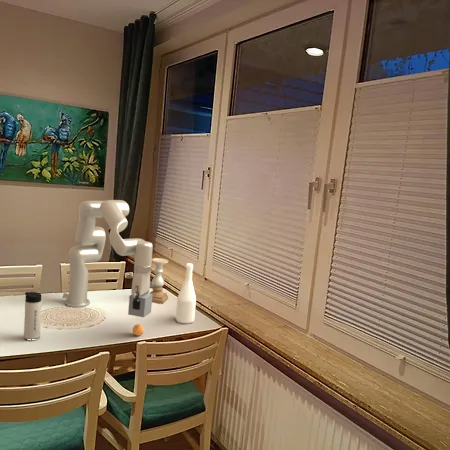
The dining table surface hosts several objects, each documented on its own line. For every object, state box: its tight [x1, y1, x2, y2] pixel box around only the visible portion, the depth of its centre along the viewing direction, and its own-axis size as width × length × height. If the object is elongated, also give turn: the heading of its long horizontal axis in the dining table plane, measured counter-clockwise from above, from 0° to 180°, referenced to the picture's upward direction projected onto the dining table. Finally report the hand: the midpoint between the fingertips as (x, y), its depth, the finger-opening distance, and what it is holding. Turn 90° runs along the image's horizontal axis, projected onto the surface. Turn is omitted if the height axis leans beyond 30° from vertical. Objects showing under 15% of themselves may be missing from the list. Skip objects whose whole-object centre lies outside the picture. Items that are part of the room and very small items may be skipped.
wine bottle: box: [175, 262, 197, 325], centre depth 221 cm, size 10×10×30 cm
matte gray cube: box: [127, 292, 153, 318], centre depth 197 cm, size 8×8×9 cm
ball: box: [131, 323, 144, 337], centre depth 199 cm, size 5×5×5 cm
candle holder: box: [148, 257, 169, 305], centre depth 251 cm, size 11×11×24 cm
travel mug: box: [23, 291, 42, 340], centre depth 184 cm, size 6×7×20 cm
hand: (140, 306), depth 197 cm, fingers closed on matte gray cube, 7 cm apart
